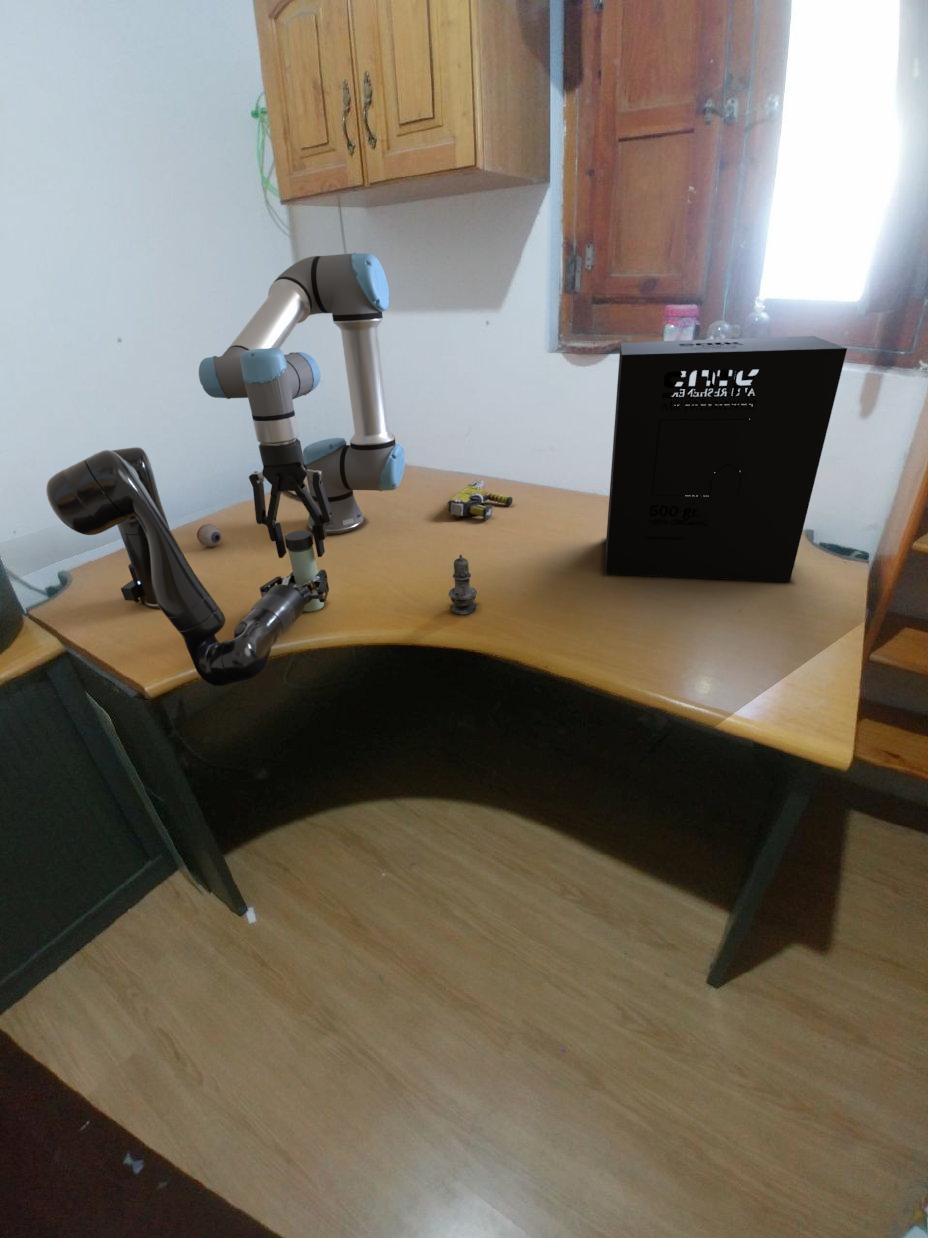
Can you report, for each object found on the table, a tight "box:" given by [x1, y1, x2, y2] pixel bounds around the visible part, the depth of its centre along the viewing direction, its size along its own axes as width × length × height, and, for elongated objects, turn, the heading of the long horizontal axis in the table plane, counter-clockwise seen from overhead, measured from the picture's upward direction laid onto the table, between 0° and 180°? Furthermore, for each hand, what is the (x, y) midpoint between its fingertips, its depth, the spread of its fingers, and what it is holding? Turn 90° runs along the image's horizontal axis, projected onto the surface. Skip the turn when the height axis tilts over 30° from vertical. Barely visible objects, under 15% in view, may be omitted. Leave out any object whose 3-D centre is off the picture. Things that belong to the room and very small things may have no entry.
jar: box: [287, 546, 325, 612], centre depth 124 cm, size 5×5×16 cm
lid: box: [284, 529, 315, 551], centre depth 121 cm, size 5×5×2 cm
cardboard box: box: [605, 335, 848, 583], centre depth 127 cm, size 38×20×45 cm, turn 78°
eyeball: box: [196, 523, 223, 548], centre depth 159 cm, size 6×6×6 cm
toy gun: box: [447, 479, 514, 521], centre depth 175 cm, size 5×24×15 cm
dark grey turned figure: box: [448, 554, 478, 615], centre depth 121 cm, size 6×6×12 cm
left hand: (311, 573), depth 127 cm, fingers closed on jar, 5 cm apart
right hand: (301, 554), depth 122 cm, fingers open, 7 cm apart
